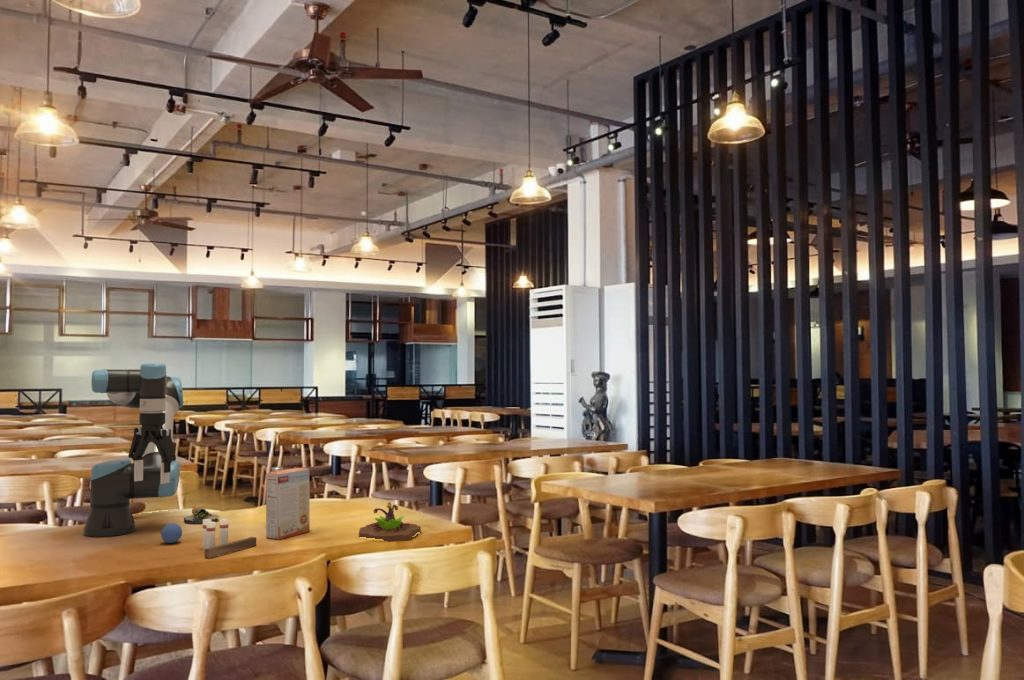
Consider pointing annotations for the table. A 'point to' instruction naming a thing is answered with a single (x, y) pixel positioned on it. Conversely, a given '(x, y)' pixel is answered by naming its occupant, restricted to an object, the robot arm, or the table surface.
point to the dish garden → (199, 515)
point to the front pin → (205, 531)
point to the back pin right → (210, 535)
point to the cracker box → (287, 503)
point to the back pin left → (223, 531)
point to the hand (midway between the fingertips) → (151, 482)
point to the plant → (389, 527)
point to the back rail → (230, 547)
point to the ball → (171, 533)
